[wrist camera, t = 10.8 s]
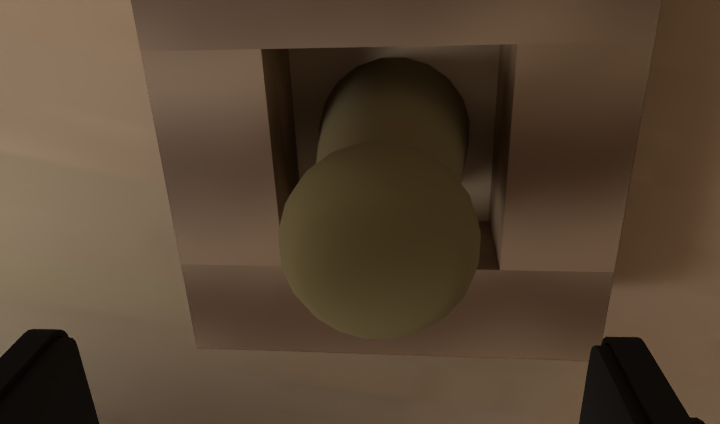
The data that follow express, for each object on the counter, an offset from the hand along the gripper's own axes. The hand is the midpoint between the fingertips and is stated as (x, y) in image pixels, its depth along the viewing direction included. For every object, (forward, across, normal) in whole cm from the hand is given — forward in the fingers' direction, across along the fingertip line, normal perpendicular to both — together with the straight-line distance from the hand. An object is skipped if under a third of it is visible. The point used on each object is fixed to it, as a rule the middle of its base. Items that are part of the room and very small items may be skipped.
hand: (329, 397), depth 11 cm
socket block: (+16, -1, -1) cm, 16 cm away
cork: (+15, -1, -1) cm, 15 cm away
